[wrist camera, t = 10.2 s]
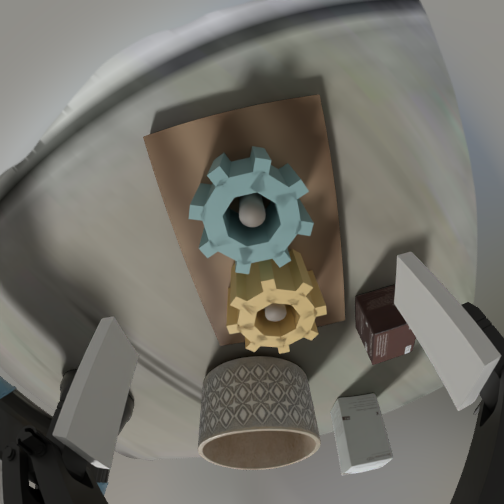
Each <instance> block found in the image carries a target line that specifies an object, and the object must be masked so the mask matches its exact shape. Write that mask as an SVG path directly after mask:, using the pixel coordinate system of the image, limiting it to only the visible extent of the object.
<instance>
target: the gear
mask: <svg viewBox="0 0 504 504" xmlns="http://www.w3.org/2000/svg"><path fill="white" fill-rule="evenodd" d="M207 176H208V178H209V179H210V180H211V181H212V185H211V184H203V183H200V185H199V187H198V189H197V191H196V193H195V195H194V197H193V199H192V201H191V204H190V209H189V219H193V220H201V221H203V224H204V230H203V233H202V237H201V241H200V245H199V249H200V250H201V252H202V253H203V254H204V255H205V256H206V257H207V258H209V257H210V256H212V255H213V254H215V253H216V252H220V253H222V254H224V255H226V256H228V257H230V258H232V259H234V260H235V261H236V262H235V273H243V274H249V271H250V266H251V263H254V262H259V261H264V260H268V259H273V260H274V261H275V262H276V264H277V265H278V266H279V268H280V267H282V266H283V265H285V264H287V263H288V262H290V261H291V258H290V255H289V252H288V248H287V247H288V246H289V244H290V243H291V242H292V240H293V239H294V238H295V237H296V235H297V234H300V235H306V236H310V235H311V232H312V228H313V224H314V222H313V221H312V219H311V217H310V216H309V214H308V212H307V211H306V209H305V207H304V206H303V204H302V202H301V201H300V199H299V198H300V197H302V196H303V195H305V194H306V193H308V192H309V191H308V189H307V188H306V186H305V185H304V183H303V181H302V180H301V179H300V177H299V176H298V175H297V174H296V172H295V171H294V170H293V169H292V167H291V166H290V165H289V164H288V163H287V164H286V165H284V166H283V167H281V168H279V169H277V168H276V167H274V166H272V165H271V159H270V157H269V155H268V153H267V152H266V150H265V148H261V147H255V146H252V149H251V155H250V157H249V158H245V159H240V160H236V161H232V162H231V161H230V160H229V158H228V157H227V156H226V154H225V153H223V154H221V155H220V156H219V157H217V158H216V159H215V160H214V161H213V163H212V165H211V168H210V170H209V172H208V174H207ZM256 192H258V193H259V194H261V195H263V196H264V197H266V198H268V199H269V200H271V202H270V204H269V205H268V207H267V208H266V209H265V214H266V216H265V220H264V221H263V223H262V224H261V225H259V226H257V227H247V226H245V225H244V224H243V223H242V222H241V221H240V218H239V213H237V212H235V211H234V210H232V209H230V203H231V202H232V200H233V199H234V198H235V197H239V196H243V195H248V194H252V193H256Z"/></svg>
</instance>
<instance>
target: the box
mask: <svg viewBox="0 0 504 504" xmlns="http://www.w3.org/2000/svg"><path fill="white" fill-rule="evenodd" d="M394 296H395V285H392V286H388V287H385V288H382V289H379V290H375V291H372V292H369V293H365V294H361V295H358V296H356V297H355V321H356V329H357V331H358V333H359V335H360V338H361V340H362V342H363V344H364V347H365V349H366V351H367V353H368V355H369V358H370V360H371V362H372V365H375V364H378V363H381V362H384V361H386V360H389V359H392V358H395V357H398V356H401V355H403V354H406V353H409V352H411V351H413V348H414V343H415V339H416V337H415V335H414V333H413V332H412V330H411V329H410V327H409V326H408V324H407V322H406V321H405V319H404V318H403V316H402V315H401V313H400V312H399V310H398V309H397V307H396V306H395V304H394Z"/></svg>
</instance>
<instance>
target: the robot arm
mask: <svg viewBox="0 0 504 504" xmlns="http://www.w3.org/2000/svg"><path fill="white" fill-rule="evenodd" d="M394 304H395V306H396V307H397V309H398V310H399V312H400V313H401V315H402V316H403V318H404V319H405V321H406V322H407V324H408V326H409V327H410V329H411V330H412V332H413V333H414V335H415V337H416V338H417V340H418V341H419V343H420V345H421V346H422V348H423V350H424V351H425V353H426V354H427V356H428V358H429V359H430V361H431V363H432V365H433V366H434V368H435V370H436V371H437V373H438V375H439V377H440V378H441V380H442V382H443V384H444V386H445V387H446V389H447V391H448V393H449V395H450V397H451V398H452V400H453V402H454V404H455V406H456V408H457V410H458V411H459V410H461V409H463V408H465V407H466V406H468V405H470V404H472V403H474V401H475V399H476V398H477V396H478V395H479V394H480V396H481V397H482V401H481V402H480V404H479V405H478V407H477V408H476V409H475V412H474V415H476V414H477V412H478V411H479V413H478V418H477V423H476V427H475V431H474V435H473V439H472V443H471V446H470V450H469V453H468V456H467V460H466V463H465V466H464V469H463V472H462V475H461V478H460V480H459V483H458V485H457V488H456V491H455V493H454V496H453V498H452V500H451V503H450V504H504V338H503V337H502V336H501V334H500V333H499V332H498V331H497V329H496V328H495V327H494V326H492V324H491V322H490V321H489V320H488V319H486V316H485V315H484V314H483V313H482V312H481V310H480V309H479V308H478V307H476V306H474V305H473V304H471V303H469V302H467V303H465V304H462V305H461V304H460V303H459V302H458V301H457V300H456V298H455V297H454V296H453V295H452V294H451V293H450V292H449V291H448V289H447V288H446V287H445V286H444V285H443V284H442V283H441V282H440V281H439V280H438V279H437V277H436V276H435V275H434V274H433V273H432V272H431V271H430V270H429V269H428V268H427V267H426V266H425V265H424V264H423V263H422V262H421V261H420V260H419V259H418V258H417V257H416V256H415V255H414V254H413V253H412V252H407V253H404V254H400V255H397V268H396V284H395V296H394ZM138 358H139V355H138V353H137V352H136V350H135V349H134V347H133V346H132V344H131V343H130V341H129V340H128V338H127V336H126V335H125V333H124V332H123V330H122V329H121V327H120V325H119V324H118V322H117V320H116V319H115V317H114V316H113V317H107V318H102V319H101V321H100V323H99V325H98V327H97V329H96V331H95V333H94V335H93V337H92V339H91V341H90V343H89V346H88V348H87V350H86V352H85V354H84V356H83V359H82V361H81V363H80V365H79V368H78V370H71V371H68V372H66V373H65V375H64V377H63V379H62V381H61V384H60V391H61V394H60V402H59V403H58V405H57V409H56V411H55V413H54V416H53V417H52V416H51V415H49V414H48V413H47V412H45V411H44V410H42V409H41V408H40V407H38V406H37V405H35V404H34V403H33V402H32V401H31V400H29V399H28V398H27V397H25V396H24V395H23V394H22V393H20V392H19V391H18V390H17V389H16V387H15V386H12V385H11V384H9V383H8V382H7V381H6V380H4V379H3V378H2V377H1V376H0V504H108V502H107V501H106V499H105V497H104V494H105V491H106V488H107V485H108V476H109V472H110V469H111V465H112V460H113V455H114V451H115V446H116V441H117V437H118V435H119V434H120V432H121V430H122V429H123V427H124V426H125V424H126V422H128V421H129V420H130V418H131V416H132V412H133V408H134V403H133V401H132V399H131V398H130V396H129V395H128V393H129V389H130V385H131V382H132V378H133V375H134V371H135V368H136V364H137V361H138ZM29 481H31V482H33V483H34V484H35V489H34V488H32V487H30V486H29Z"/></svg>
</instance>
